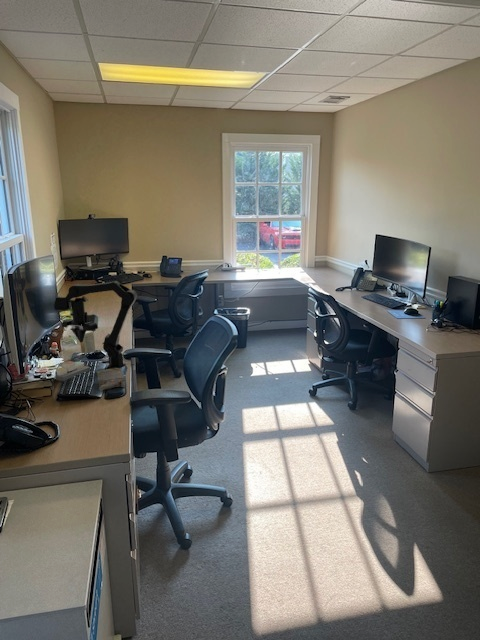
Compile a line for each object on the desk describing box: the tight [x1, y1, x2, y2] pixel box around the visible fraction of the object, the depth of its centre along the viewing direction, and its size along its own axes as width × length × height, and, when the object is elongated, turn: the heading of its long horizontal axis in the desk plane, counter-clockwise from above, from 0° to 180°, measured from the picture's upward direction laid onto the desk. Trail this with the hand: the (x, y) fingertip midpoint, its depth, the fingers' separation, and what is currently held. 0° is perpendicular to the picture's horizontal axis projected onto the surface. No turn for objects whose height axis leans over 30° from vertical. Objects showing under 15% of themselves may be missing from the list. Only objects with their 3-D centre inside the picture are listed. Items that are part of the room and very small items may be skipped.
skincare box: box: [79, 330, 96, 354], centre depth 245 cm, size 6×4×12 cm
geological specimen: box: [97, 367, 126, 392], centre depth 203 cm, size 11×6×15 cm
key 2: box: [62, 360, 76, 372], centre depth 215 cm, size 4×4×4 cm
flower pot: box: [88, 313, 99, 325], centre depth 298 cm, size 9×9×9 cm
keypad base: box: [55, 365, 91, 382], centre depth 216 cm, size 10×16×2 cm, turn 151°
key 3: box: [56, 367, 67, 376], centre depth 211 cm, size 4×4×4 cm
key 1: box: [74, 361, 85, 369], centre depth 220 cm, size 4×4×4 cm
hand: (81, 342), depth 224 cm, fingers closed
